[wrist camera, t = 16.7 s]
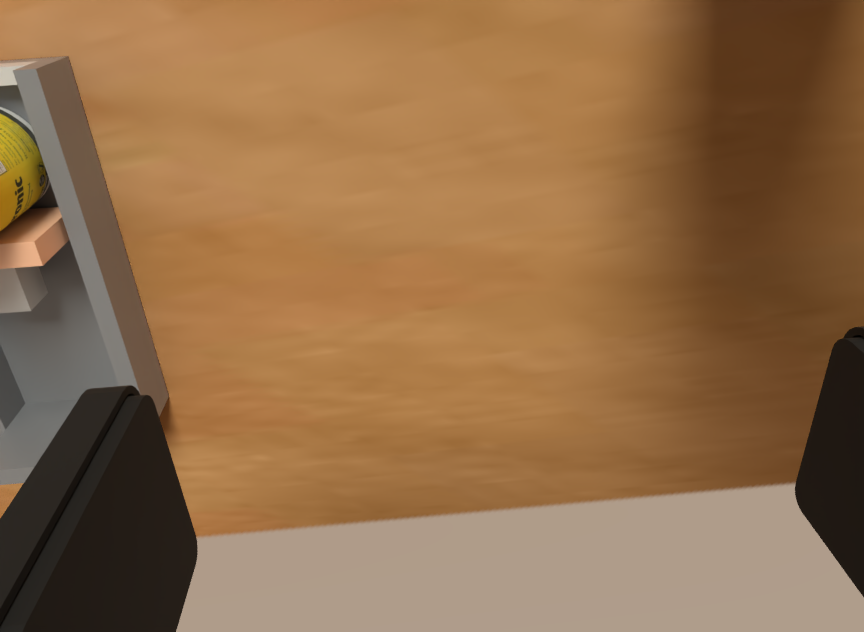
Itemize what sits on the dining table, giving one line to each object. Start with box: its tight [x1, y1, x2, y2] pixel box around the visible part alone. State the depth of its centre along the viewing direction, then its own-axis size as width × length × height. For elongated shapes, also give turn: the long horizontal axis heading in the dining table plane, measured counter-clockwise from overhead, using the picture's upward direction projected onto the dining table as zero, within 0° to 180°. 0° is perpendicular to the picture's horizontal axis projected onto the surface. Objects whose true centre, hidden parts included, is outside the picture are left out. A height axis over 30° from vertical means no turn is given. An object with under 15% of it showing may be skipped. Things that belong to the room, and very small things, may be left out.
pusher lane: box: [0, 56, 169, 485], centre depth 35 cm, size 20×9×7 cm, turn 3°
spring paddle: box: [0, 207, 70, 313], centre depth 34 cm, size 4×6×5 cm, turn 93°
